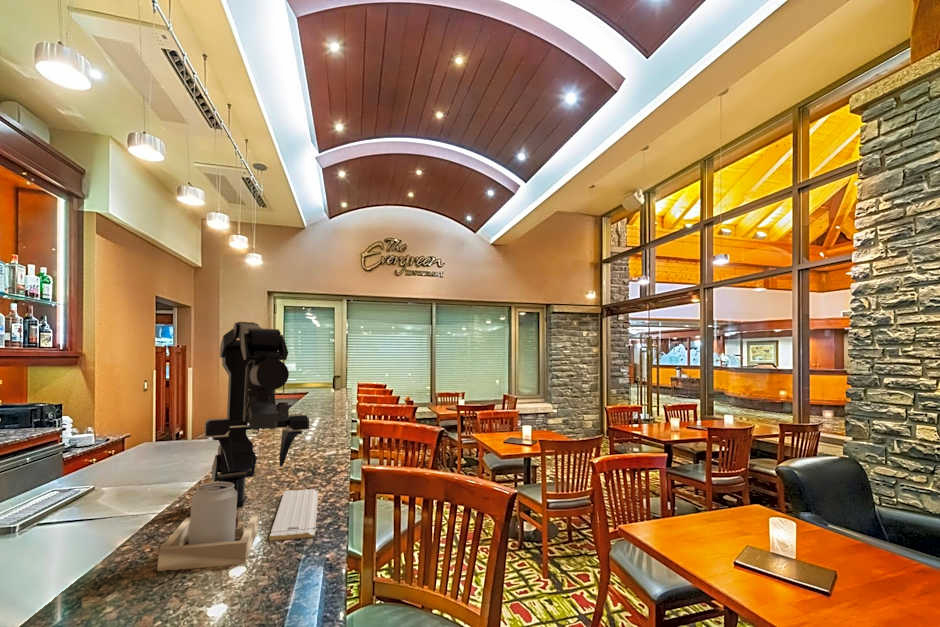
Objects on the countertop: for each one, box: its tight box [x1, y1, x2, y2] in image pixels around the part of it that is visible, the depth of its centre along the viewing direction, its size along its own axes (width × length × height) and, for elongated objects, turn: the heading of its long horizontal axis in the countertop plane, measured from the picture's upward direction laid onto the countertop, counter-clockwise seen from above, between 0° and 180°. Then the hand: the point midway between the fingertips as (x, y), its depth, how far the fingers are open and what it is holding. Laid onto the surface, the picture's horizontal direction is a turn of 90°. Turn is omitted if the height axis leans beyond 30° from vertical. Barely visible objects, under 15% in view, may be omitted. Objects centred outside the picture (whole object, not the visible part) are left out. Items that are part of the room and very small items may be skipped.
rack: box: [156, 512, 260, 572], centre depth 86 cm, size 15×13×4 cm
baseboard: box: [268, 488, 321, 542], centre depth 106 cm, size 30×3×10 cm
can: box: [187, 481, 238, 545], centre depth 85 cm, size 8×8×12 cm
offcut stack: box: [235, 511, 245, 540], centre depth 91 cm, size 4×8×4 cm, turn 107°
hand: (256, 468), depth 91 cm, fingers open, 9 cm apart
